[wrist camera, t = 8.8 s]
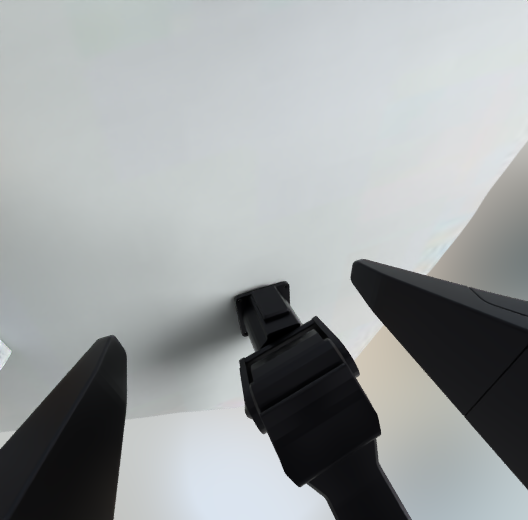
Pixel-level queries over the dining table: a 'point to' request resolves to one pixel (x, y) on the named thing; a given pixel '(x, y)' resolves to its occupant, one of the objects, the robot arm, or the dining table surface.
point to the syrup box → (4, 354)
